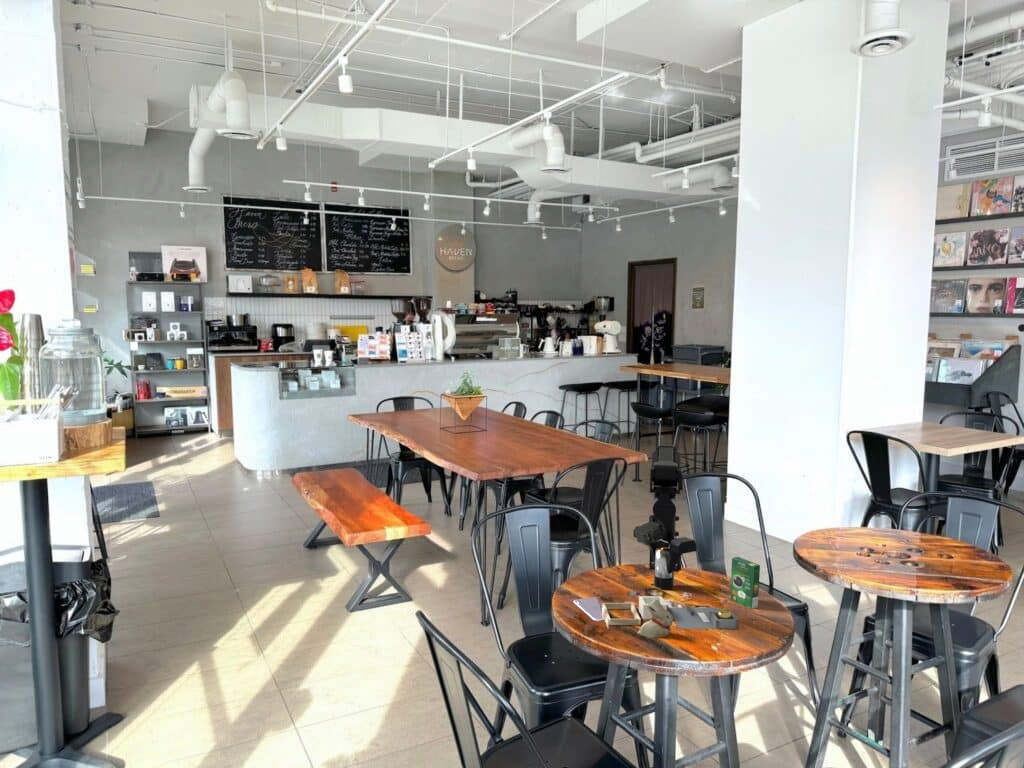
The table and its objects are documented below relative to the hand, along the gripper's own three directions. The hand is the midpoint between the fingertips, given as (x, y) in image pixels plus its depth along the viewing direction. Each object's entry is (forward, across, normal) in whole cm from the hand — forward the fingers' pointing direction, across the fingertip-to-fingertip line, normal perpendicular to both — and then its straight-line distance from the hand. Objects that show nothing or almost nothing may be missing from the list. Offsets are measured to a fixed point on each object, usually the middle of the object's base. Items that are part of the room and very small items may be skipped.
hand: (663, 570), depth 189 cm
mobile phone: (+13, -13, -12) cm, 22 cm away
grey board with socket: (+13, +7, +7) cm, 16 cm away
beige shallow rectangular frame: (+13, -4, -11) cm, 17 cm away
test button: (+10, +13, +9) cm, 19 cm away
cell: (+1, 0, 0) cm, 1 cm away
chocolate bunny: (+13, +9, -10) cm, 19 cm away
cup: (+13, -1, -3) cm, 13 cm away
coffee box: (+13, +5, +25) cm, 28 cm away
